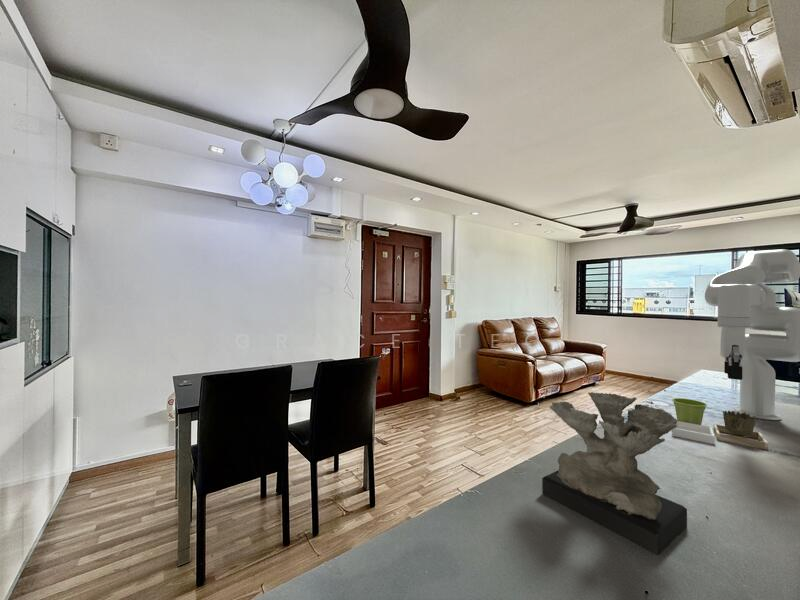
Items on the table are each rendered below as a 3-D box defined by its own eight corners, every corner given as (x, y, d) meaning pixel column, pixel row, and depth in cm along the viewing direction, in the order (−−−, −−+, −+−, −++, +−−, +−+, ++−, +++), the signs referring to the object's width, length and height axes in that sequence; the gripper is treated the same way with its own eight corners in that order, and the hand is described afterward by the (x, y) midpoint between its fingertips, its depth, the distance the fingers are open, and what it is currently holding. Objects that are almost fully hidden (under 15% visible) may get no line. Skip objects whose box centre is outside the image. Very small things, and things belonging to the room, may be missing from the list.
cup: (762, 445, 103) (762, 418, 103) (733, 442, 105) (734, 416, 105) (743, 435, 111) (743, 411, 111) (716, 433, 112) (717, 409, 112)
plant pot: (665, 423, 120) (666, 399, 120) (680, 420, 124) (681, 396, 124) (697, 433, 112) (698, 407, 112) (712, 429, 116) (713, 404, 116)
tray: (672, 427, 117) (672, 419, 117) (711, 434, 111) (711, 427, 111) (672, 435, 109) (672, 428, 109) (714, 444, 103) (714, 436, 103)
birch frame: (713, 429, 116) (713, 423, 116) (760, 438, 109) (760, 432, 109) (717, 439, 107) (717, 433, 107) (767, 449, 100) (768, 442, 100)
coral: (527, 486, 78) (529, 392, 78) (578, 464, 88) (580, 382, 88) (655, 557, 56) (658, 427, 56) (701, 518, 67) (703, 409, 67)
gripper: (715, 321, 117) (714, 370, 117) (720, 323, 104) (719, 379, 104) (746, 322, 113) (745, 373, 113) (755, 325, 99) (754, 383, 99)
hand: (732, 376), depth 108 cm, fingers open, 9 cm apart
